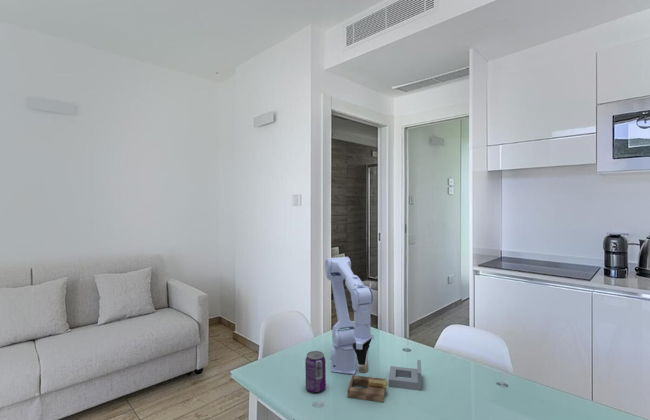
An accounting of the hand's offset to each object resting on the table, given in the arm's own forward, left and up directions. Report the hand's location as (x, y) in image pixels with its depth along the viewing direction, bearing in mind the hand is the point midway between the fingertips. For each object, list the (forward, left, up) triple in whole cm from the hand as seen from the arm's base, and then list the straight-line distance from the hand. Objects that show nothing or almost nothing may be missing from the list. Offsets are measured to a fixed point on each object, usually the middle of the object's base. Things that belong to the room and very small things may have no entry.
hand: (362, 361), depth 116 cm
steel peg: (0, 0, -3) cm, 3 cm away
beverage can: (-16, -3, -10) cm, 20 cm away
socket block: (+2, -1, -10) cm, 10 cm away
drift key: (+5, -1, -7) cm, 9 cm away
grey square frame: (+14, +9, -10) cm, 19 cm away
